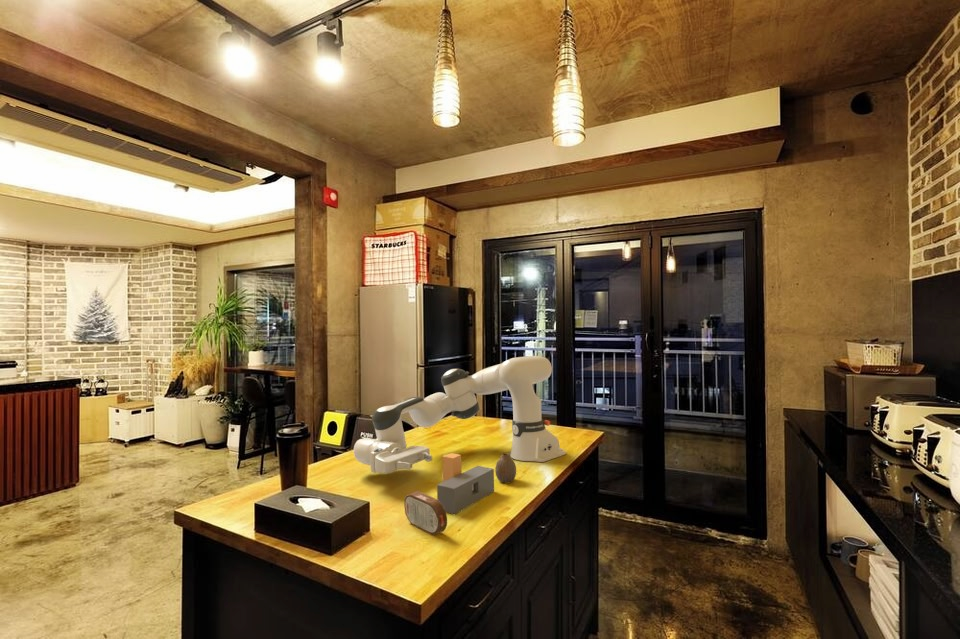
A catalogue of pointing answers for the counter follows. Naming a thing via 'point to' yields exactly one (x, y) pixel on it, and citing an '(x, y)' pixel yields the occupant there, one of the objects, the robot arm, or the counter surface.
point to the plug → (452, 466)
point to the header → (465, 489)
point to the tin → (425, 512)
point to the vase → (505, 469)
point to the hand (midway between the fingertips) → (421, 462)
